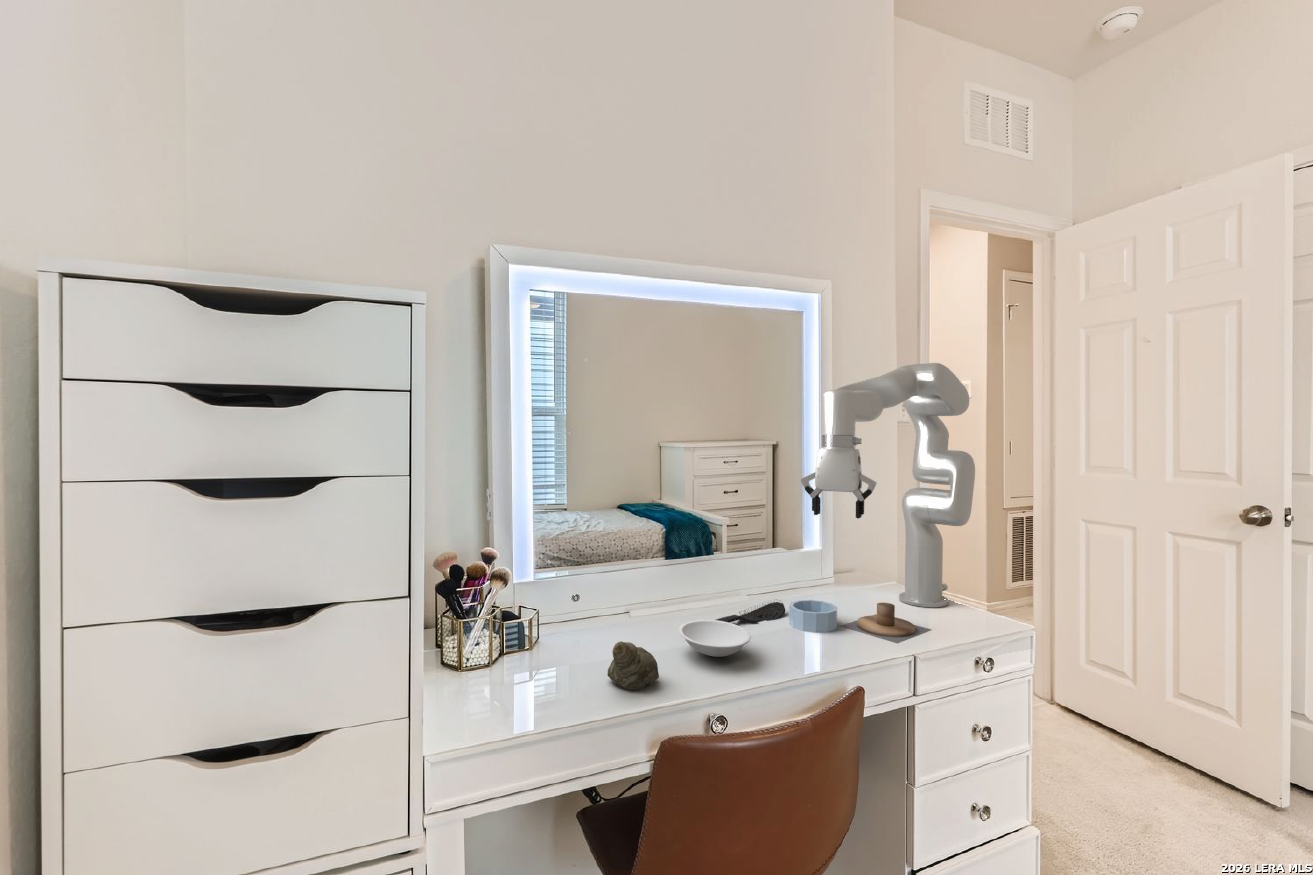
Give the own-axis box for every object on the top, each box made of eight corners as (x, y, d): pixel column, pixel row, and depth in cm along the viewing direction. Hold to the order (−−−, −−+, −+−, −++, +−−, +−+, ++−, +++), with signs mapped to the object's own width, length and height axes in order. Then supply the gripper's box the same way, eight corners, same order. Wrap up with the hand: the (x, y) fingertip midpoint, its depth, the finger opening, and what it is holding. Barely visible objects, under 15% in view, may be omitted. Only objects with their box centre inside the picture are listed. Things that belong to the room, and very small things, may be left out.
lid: (876, 616, 158) (876, 594, 158) (925, 629, 148) (925, 606, 148) (846, 626, 150) (846, 603, 150) (895, 640, 140) (895, 616, 140)
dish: (765, 665, 127) (765, 640, 127) (703, 676, 121) (703, 650, 121) (723, 637, 143) (723, 616, 143) (666, 646, 138) (666, 624, 137)
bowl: (809, 616, 159) (809, 597, 159) (846, 628, 150) (846, 607, 150) (780, 625, 152) (780, 605, 152) (817, 637, 143) (817, 616, 143)
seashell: (586, 647, 120) (602, 664, 111) (634, 608, 124) (653, 621, 115) (617, 691, 122) (635, 711, 113) (662, 651, 126) (683, 668, 117)
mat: (875, 616, 160) (875, 614, 160) (931, 631, 148) (931, 629, 148) (840, 627, 150) (840, 625, 150) (897, 645, 139) (897, 643, 139)
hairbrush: (694, 616, 152) (769, 595, 165) (695, 631, 152) (770, 609, 166) (716, 625, 145) (792, 603, 158) (716, 640, 145) (793, 617, 159)
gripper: (880, 443, 144) (879, 517, 144) (806, 442, 153) (805, 511, 153) (873, 444, 138) (872, 521, 138) (797, 442, 146) (796, 515, 147)
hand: (837, 516), depth 145 cm, fingers open, 9 cm apart
